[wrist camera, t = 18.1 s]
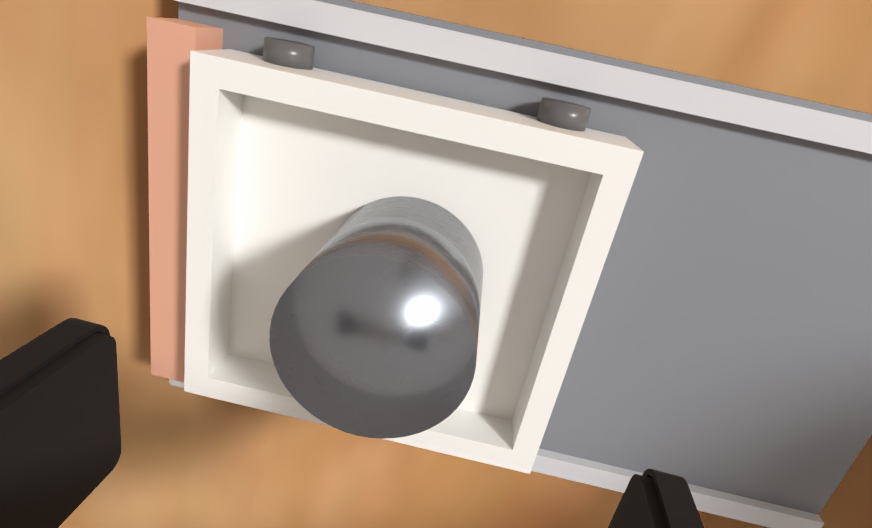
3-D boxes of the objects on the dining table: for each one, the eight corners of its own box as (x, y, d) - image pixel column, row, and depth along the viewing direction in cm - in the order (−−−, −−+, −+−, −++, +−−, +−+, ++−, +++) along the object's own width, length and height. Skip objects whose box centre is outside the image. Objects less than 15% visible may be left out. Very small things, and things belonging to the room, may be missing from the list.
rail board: (1025, 148, 16) (1115, 167, 14) (793, 512, 22) (829, 570, 20) (196, -33, 17) (145, -45, 14) (188, 368, 23) (151, 407, 20)
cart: (631, 115, 16) (652, 128, 14) (522, 439, 21) (525, 487, 19) (233, 27, 16) (190, 25, 14) (217, 366, 21) (183, 405, 19)
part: (499, 216, 17) (499, 284, 12) (464, 353, 19) (452, 457, 14) (339, 180, 17) (277, 234, 12) (321, 320, 19) (262, 412, 14)
